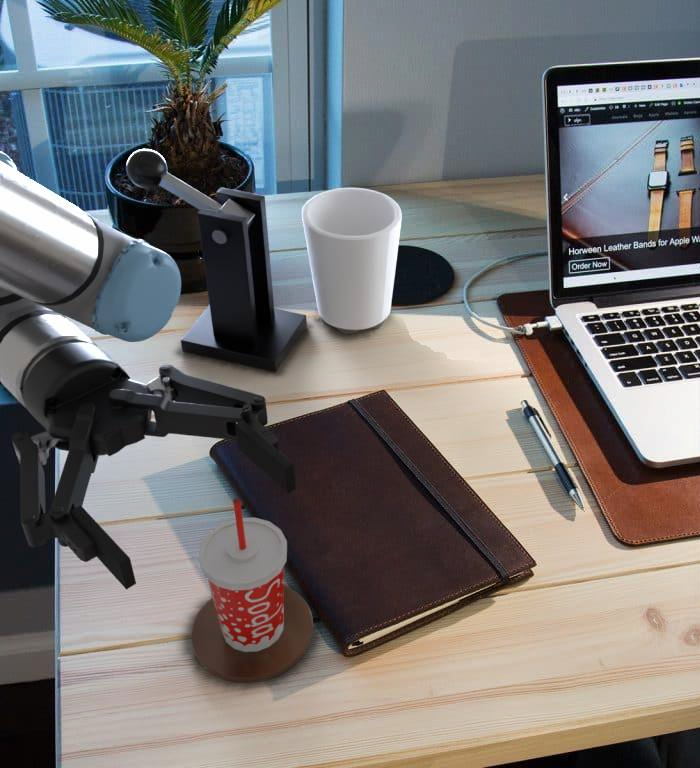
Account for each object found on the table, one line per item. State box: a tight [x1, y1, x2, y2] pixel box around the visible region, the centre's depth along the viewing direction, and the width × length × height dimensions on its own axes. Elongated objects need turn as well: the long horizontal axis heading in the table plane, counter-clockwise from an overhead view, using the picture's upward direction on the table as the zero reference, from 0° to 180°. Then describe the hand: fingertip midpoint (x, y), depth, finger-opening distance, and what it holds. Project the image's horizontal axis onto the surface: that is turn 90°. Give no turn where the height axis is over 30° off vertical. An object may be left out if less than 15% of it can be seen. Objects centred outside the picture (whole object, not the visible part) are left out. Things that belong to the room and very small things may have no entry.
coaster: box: [191, 585, 314, 684], centre depth 80 cm, size 9×9×1 cm
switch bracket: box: [180, 187, 308, 373], centre depth 102 cm, size 10×8×16 cm
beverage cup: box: [197, 497, 288, 652], centre depth 75 cm, size 6×6×14 cm
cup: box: [301, 187, 403, 335], centre depth 107 cm, size 10×10×13 cm
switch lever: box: [125, 148, 255, 229], centre depth 97 cm, size 12×4×4 cm, turn 77°
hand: (214, 524), depth 75 cm, fingers open, 13 cm apart
